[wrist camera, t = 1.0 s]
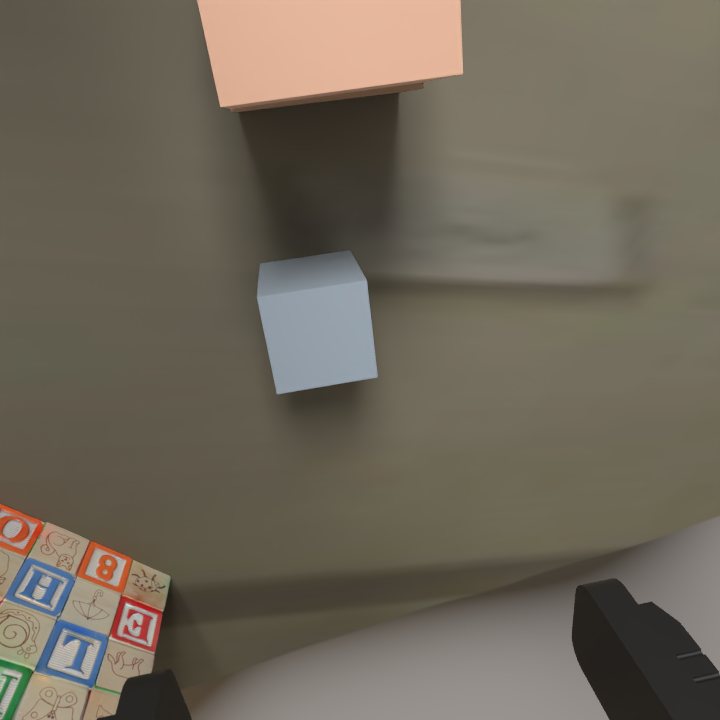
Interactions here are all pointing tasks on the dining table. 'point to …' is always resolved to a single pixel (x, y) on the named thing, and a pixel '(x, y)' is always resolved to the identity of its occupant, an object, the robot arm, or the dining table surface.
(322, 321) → the slate block
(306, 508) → the dining table surface
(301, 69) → the tower top
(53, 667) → the stack of blocks
